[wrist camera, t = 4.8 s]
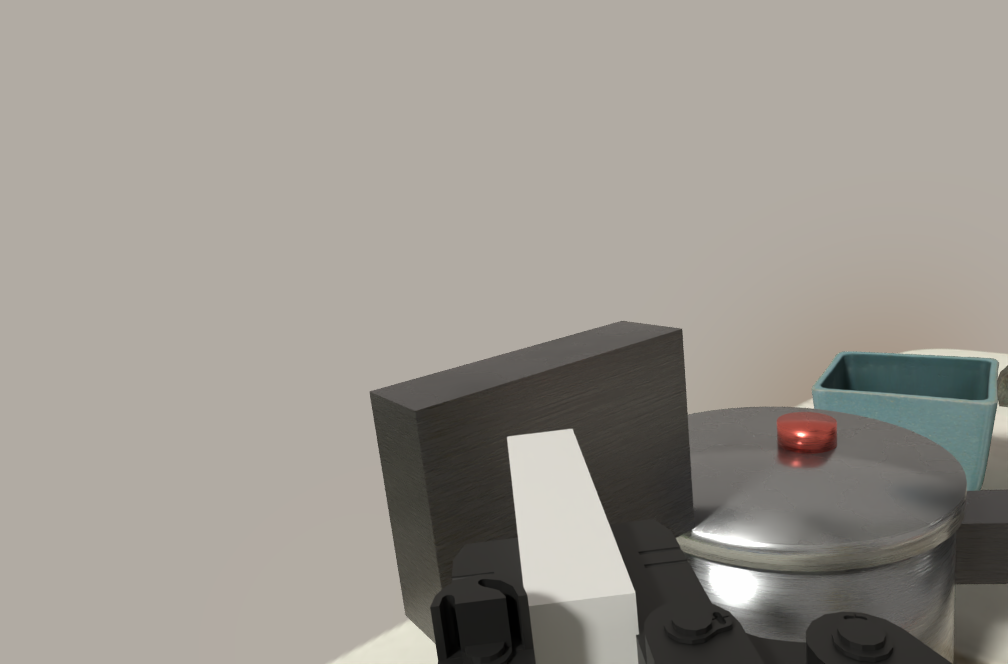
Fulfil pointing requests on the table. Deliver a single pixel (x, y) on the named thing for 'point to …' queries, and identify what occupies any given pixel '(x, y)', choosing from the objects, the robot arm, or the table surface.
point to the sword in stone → (1003, 388)
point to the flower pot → (920, 399)
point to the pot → (871, 583)
